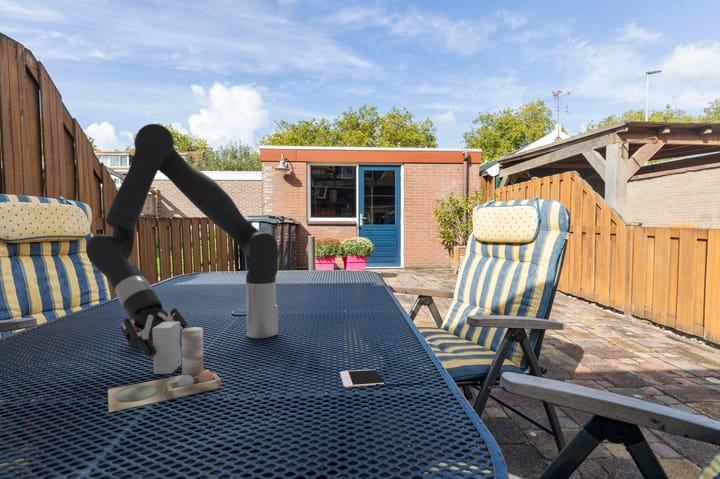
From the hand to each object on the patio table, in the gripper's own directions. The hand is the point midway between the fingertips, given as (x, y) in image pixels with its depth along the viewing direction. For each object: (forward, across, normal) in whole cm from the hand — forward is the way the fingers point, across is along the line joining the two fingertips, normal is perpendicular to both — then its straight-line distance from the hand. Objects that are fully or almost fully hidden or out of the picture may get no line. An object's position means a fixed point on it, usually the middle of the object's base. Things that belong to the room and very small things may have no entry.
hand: (169, 350), depth 93 cm
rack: (+10, -8, -2) cm, 13 cm away
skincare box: (+4, 0, +5) cm, 6 cm away
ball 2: (+14, -3, -7) cm, 16 cm away
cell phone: (+37, +21, -28) cm, 50 cm away
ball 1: (+13, -6, -6) cm, 15 cm away
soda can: (-17, +14, +25) cm, 34 cm away
